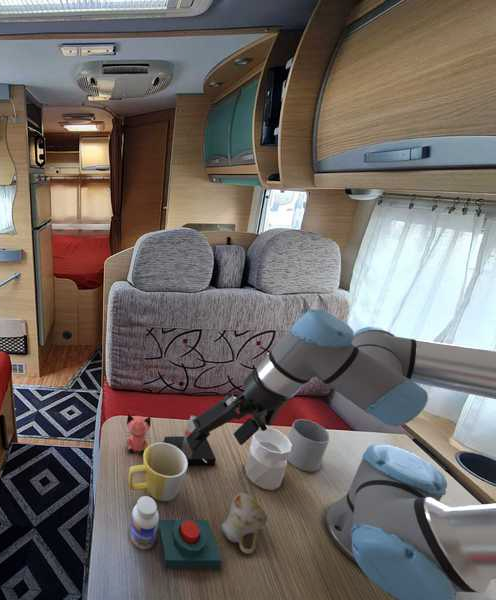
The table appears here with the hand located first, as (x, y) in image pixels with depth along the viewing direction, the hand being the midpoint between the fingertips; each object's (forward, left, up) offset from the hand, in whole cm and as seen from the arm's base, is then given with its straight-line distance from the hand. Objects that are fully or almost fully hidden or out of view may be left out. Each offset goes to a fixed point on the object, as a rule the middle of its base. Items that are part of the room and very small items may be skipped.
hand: (214, 442), depth 72 cm
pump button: (-4, +12, -14) cm, 19 cm away
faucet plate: (+11, -8, -18) cm, 22 cm away
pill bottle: (+3, +18, -18) cm, 26 cm away
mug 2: (-9, 0, -18) cm, 20 cm away
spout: (+11, -8, -15) cm, 20 cm away
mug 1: (+9, +8, -18) cm, 21 cm away
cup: (-9, -32, -18) cm, 38 cm away
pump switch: (-4, +12, -18) cm, 22 cm away
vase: (-5, -18, -18) cm, 26 cm away
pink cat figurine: (+21, +2, -18) cm, 28 cm away
